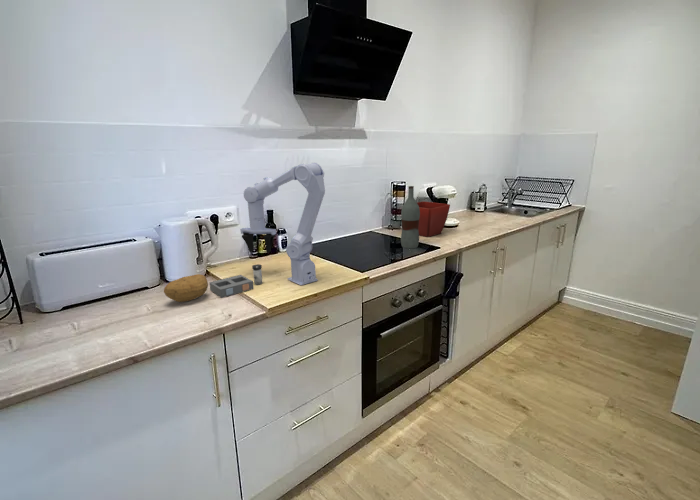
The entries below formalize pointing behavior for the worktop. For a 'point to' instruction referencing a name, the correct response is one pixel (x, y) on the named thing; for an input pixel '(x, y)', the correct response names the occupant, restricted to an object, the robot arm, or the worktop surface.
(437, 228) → the plant pot
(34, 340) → the worktop surface
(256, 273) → the jar
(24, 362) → the worktop surface
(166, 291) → the potato
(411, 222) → the bottle
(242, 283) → the socket strip
